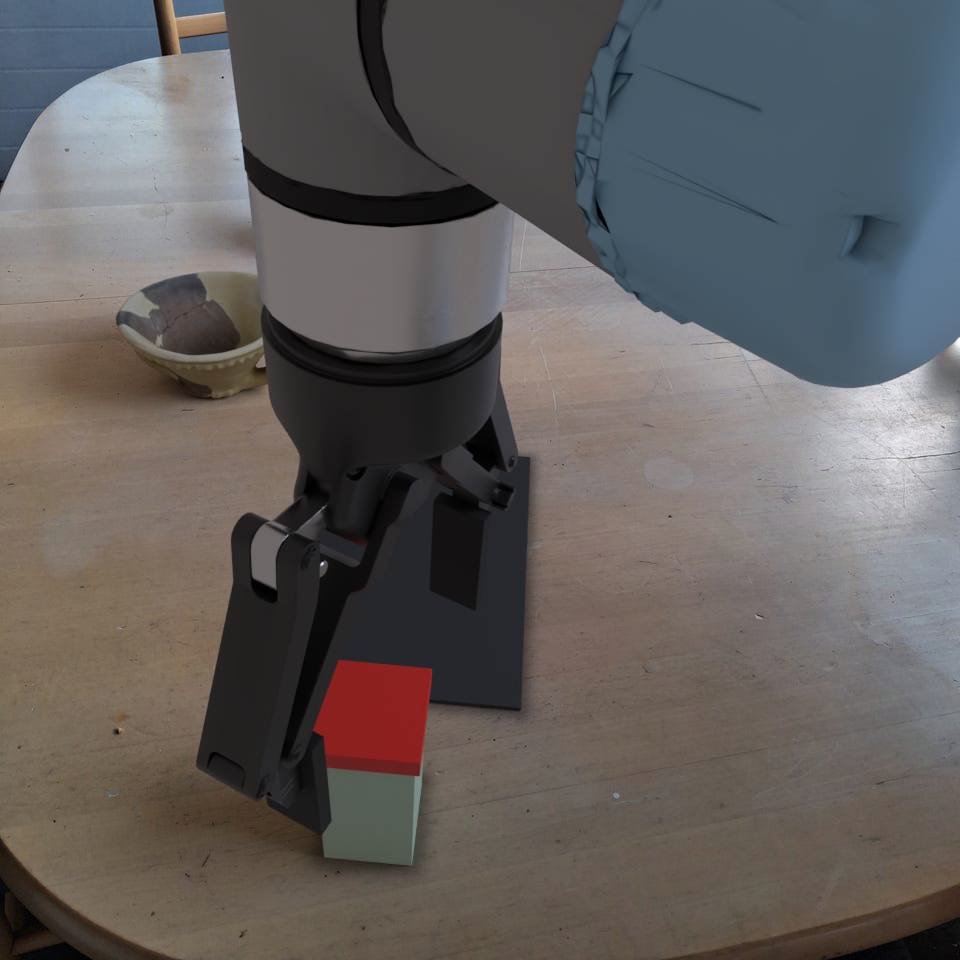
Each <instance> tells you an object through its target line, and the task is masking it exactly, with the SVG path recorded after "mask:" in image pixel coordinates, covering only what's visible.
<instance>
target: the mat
mask: <svg viewBox="0 0 960 960" xmlns="http://www.w3.org/2000/svg"><path fill="white" fill-rule="evenodd" d="M517 458H518V461H517V464H516V466H515V467H514V468H513V469H512V471H511V472H510V473H507V472H504V471H500V472H499V474H498V476H497V478H496V479H497V480H498V481H500V482H502V483H504V484H507V485H509V486H512V487H514V488H515V494H514V498H513V500H512V503H511V505H510V507H509V508H508V509H507V510H506V511H502V510H500V509H498V508H495V507H493V506H490V505H489V507H488V511H490V512H491V522H490V531H489V540H488V550H487V559H486V569H485V578H484V587H483V597H482V602H481V604H480V605H479V607H478V608H477V609H476V611H474V610H471V609H469V608H467V607H465V606H463V605H460V604H458V603H456V602H454V601H452V600H449V599H447V598H445V597H443V596H441V595H438V594H436V593H434V592H432V591H429V588H430V565H431V542H432V520H433V501H434V499H435V498H436V497H437V496H438V495H439V493H440V492H444V493H446V494H449V495H451V496H452V493H453V490H451V489H449V488H446V487H444V486H443V485H441V484H440V483H438V482H436V481H435V480H434V482H433V484H432V486H431V488H430V489H429V491H428V498H427V499H426V500H425V501H424V503H423V504H422V505H421V506H420V507H419V508H418V509H417V510H416V511H415V512H414V514H413V516H412V518H411V520H410V521H408V522H407V523H406V524H404V525H403V526H402V528H401V530H400V533H399V535H398V538H397V541H396V544H395V546H394V549H393V552H392V555H391V557H390V560H389V563H388V565H387V568H386V571H385V574H384V576H383V579H382V581H381V583H380V585H378V586H377V587H376V588H372V589H368V590H366V591H365V592H364V593H363V595H362V598H361V601H360V603H359V606H358V609H357V612H356V614H355V617H354V620H353V622H352V625H351V628H350V631H349V633H348V636H347V639H346V642H345V644H344V647H343V650H342V653H341V655H340V658H339V660H344V661H355V662H365V663H376V664H386V665H397V666H407V667H418V668H429V669H432V683H431V692H430V700H429V703H435V704H446V705H457V706H466V707H478V708H485V709H486V708H487V709H488V708H489V709H496V710H497V709H498V710H508V711H519V712H520V711H521V710H522V697H523V695H522V694H523V693H522V691H523V666H524V665H523V664H524V641H525V640H524V639H525V615H526V613H525V612H526V611H525V610H526V609H525V608H526V588H527V587H526V585H527V583H526V582H527V563H528V561H527V556H528V535H529V534H528V532H529V506H530V505H529V504H530V481H531V478H530V477H531V456H523V455H518V457H517ZM319 542H320V543H321V544H322V545H323V546H326V547H328V548H330V549H332V550H334V551H337V552H339V553H341V554H343V555H346V556H348V557H350V558H352V559H354V560H357V561H359V562H361V560H362V557H363V554H364V551H365V549H366V548H364V547H361V546H358V545H356V544H354V543H352V542H349V541H347V540H345V539H343V538H340V537H338V536H336V535H334V534H332V533H330V532H329V531H327V530H324V531H323V533H322V534H321V536H320V538H319Z"/></svg>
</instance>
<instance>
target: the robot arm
mask: <svg viewBox="0 0 960 960" xmlns="http://www.w3.org/2000/svg"><path fill="white" fill-rule="evenodd" d="M222 1H223V9H224V17H225V24H226V25H225V26H226V31H227V32H226V33H227V40H228V47H229V55H230V64H231V71H232V78H233V85H234V86H233V87H234V95H235V102H236V110H237V119H238V125H239V131H240V135H241V139H240V143H241V147H242V156H243V157H242V159H243V166H244V167H243V168H244V171H245V172H246V180H247V189H248V191H247V192H248V198H249V209H250V217H251V225H252V234H253V235H252V237H253V244H254V255H255V264H256V274H257V275H258V284H259V292H260V299H261V300H262V302H263V303H264V305H263V307H262V312H261V330H262V338H263V347H264V355H263V356H264V363H265V366H266V373H267V382H268V384H267V389H268V397H269V401H270V405H271V408H272V410H273V413H274V414H275V416H276V418H277V420H278V421H279V423H280V425H281V426H282V428H283V429H284V431H285V433H286V434H287V435H288V437H289V438H290V440H291V442H292V443H293V445H294V447H295V449H296V451H297V453H298V455H299V461H298V462H299V463H298V470H297V475H296V479H295V483H294V487H293V496H292V497H293V502H292V503H291V504H290V505H289V506H287V507H286V508H285V509H284V510H283V511H281V512H280V513H279V514H278V515H277V516H275V518H273V519H271V520H270V519H268V518H265V517H264V516H261V515H259V514H256V513H254V512H253V511H251V512H246V513H244V514H242V515H241V516H240V517H239V518H238V520H237V521H236V523H235V525H234V527H233V529H232V532H231V534H230V553H231V565H232V566H231V568H232V585H231V590H230V595H229V598H228V599H229V600H228V603H227V604H228V605H227V610H226V614H225V620H224V624H223V629H222V634H221V638H220V643H219V648H218V653H217V657H216V663H215V668H214V671H213V672H214V673H213V677H212V682H211V687H210V692H209V697H208V701H207V705H206V712H205V716H204V720H203V726H202V731H201V735H200V741H199V746H198V749H197V750H198V751H197V754H196V758H195V759H196V760H195V767H196V769H197V770H198V771H200V772H202V773H204V774H206V775H207V776H209V777H211V778H213V779H214V780H216V781H218V782H220V783H222V784H223V785H224V786H227V787H229V788H230V789H232V790H234V791H235V792H237V793H239V794H241V795H242V796H244V797H246V798H248V799H249V800H251V801H252V802H255V803H256V802H257V803H259V802H260V801H261V800H263V799H264V798H265V799H266V805H267V807H269V808H271V809H272V810H274V811H276V812H278V813H280V814H281V815H283V816H284V817H286V818H288V819H290V820H292V821H293V822H296V823H297V824H298V825H301V826H302V827H304V828H306V829H308V830H310V831H311V832H313V833H315V834H316V835H317V836H320V837H322V835H323V833H324V832H325V830H326V829H327V827H328V826H329V824H330V823H331V821H332V818H331V807H330V797H329V786H328V775H327V765H326V754H325V744H324V736H322V735H320V734H318V733H316V732H314V731H313V729H314V726H315V724H316V721H317V718H318V716H319V713H320V710H321V707H322V705H323V702H324V699H325V696H326V694H327V691H328V688H329V685H330V683H331V680H332V677H333V674H334V672H335V669H336V666H337V664H338V661H339V658H340V655H341V653H342V650H343V647H344V644H345V642H346V639H347V636H348V633H349V631H350V628H351V625H352V622H353V620H354V617H355V614H356V612H357V609H358V606H359V603H360V601H361V598H362V595H363V593H364V592H365V591H366V590H368V589H372V588H376V587H377V586H378V585H380V583H381V581H382V579H383V576H384V574H385V571H386V568H387V565H388V563H389V560H390V557H391V555H392V552H393V549H394V546H395V544H396V541H397V538H398V535H399V533H400V530H401V528H402V526H403V525H404V524H406V523H407V522H408V521H410V520H411V518H412V516H413V514H414V512H415V511H416V510H417V509H418V508H419V507H420V506H421V505H422V504H423V503H424V501H425V500H426V499H427V498H428V491H429V489H430V488H431V486H432V484H433V482H434V480H435V481H436V482H438V483H440V484H441V485H443V486H444V487H446V488H449V489H451V490H453V493H452V496H451V495H449V494H446V493H444V492H440V493H439V495H438V496H437V497H436V498H435V499H434V501H433V520H432V542H431V565H430V588H429V591H432V592H434V593H436V594H438V595H441V596H443V597H445V598H447V599H449V600H452V601H454V602H456V603H458V604H460V605H463V606H465V607H467V608H469V609H471V610H474V611H476V609H477V608H478V607H479V605H480V604H481V602H482V597H483V587H484V578H485V569H486V559H487V550H488V540H489V531H490V522H491V512H490V511H488V507H489V505H490V506H493V507H495V508H498V509H500V510H502V511H506V510H507V509H508V508H509V507H510V505H511V503H512V500H513V498H514V494H515V488H514V487H512V486H509V485H507V484H504V483H502V482H500V481H498V480H497V479H496V478H497V476H498V474H499V472H500V471H504V472H507V473H510V472H511V471H512V469H513V468H514V467H515V466H516V464H517V461H518V458H517V457H518V456H519V450H518V445H517V441H516V437H515V433H514V429H513V425H512V421H511V418H510V413H509V409H508V406H507V402H506V398H505V393H504V389H503V386H502V385H503V384H502V382H501V365H502V340H503V339H502V338H503V337H502V336H503V327H504V319H503V312H502V310H503V309H504V306H505V303H506V301H507V298H508V295H509V285H510V274H511V273H510V272H511V262H512V250H513V237H514V229H515V228H514V227H515V217H516V214H517V215H518V216H519V217H521V218H523V219H524V220H526V221H527V222H528V223H530V224H531V225H533V226H535V227H536V228H538V229H539V230H540V231H542V232H543V233H545V234H547V235H548V236H550V237H551V238H553V239H554V240H556V241H557V242H559V243H560V244H562V245H563V246H564V247H566V248H567V249H569V250H571V251H572V252H574V253H575V254H576V255H579V256H580V258H583V259H584V260H586V261H587V262H589V263H590V264H592V265H594V267H596V268H598V270H599V269H600V270H601V271H603V272H604V273H605V274H607V275H608V276H610V277H611V278H613V280H614V282H615V283H616V284H617V285H618V286H619V287H620V288H621V289H622V290H624V291H625V292H626V293H628V294H631V295H634V296H635V298H636V299H637V301H639V302H640V303H641V305H643V306H644V307H646V308H647V309H649V310H651V311H652V312H653V313H663V314H664V315H665V316H667V317H668V318H670V319H672V320H674V321H675V322H677V323H678V324H680V325H686V324H689V323H690V324H691V323H694V324H696V325H697V326H699V327H701V328H703V329H704V330H707V331H709V332H710V333H712V334H714V335H716V336H719V337H720V338H722V339H724V340H726V341H727V342H730V343H731V344H734V345H735V346H737V347H739V348H741V349H743V350H744V351H747V352H749V353H751V354H753V356H756V357H759V358H760V359H762V360H764V361H766V362H768V363H770V364H772V365H773V366H776V367H778V368H779V369H781V370H783V371H785V372H787V373H789V374H791V375H792V376H795V377H796V378H798V379H800V380H803V381H805V382H807V383H810V384H812V385H813V384H814V385H817V386H822V387H828V388H837V389H859V388H866V387H873V386H877V385H882V384H885V383H888V382H890V381H894V380H896V379H898V378H900V377H902V376H905V375H907V374H909V373H911V372H913V371H916V370H917V369H919V368H921V367H922V366H924V365H926V364H927V363H929V362H931V361H932V360H934V359H935V358H937V357H938V356H939V355H940V354H943V353H944V352H945V351H946V350H947V349H948V348H949V347H951V346H952V345H954V344H955V343H956V342H957V340H959V338H960V0H222ZM324 530H327V531H329V532H330V533H332V534H334V535H336V536H338V537H340V538H343V539H345V540H347V541H349V542H352V543H354V544H356V545H358V546H361V547H364V548H366V549H365V551H364V554H363V557H362V560H361V562H359V561H357V560H354V559H352V558H350V557H348V556H346V555H343V554H341V553H339V552H337V551H334V550H332V549H330V548H328V547H326V546H323V545H322V544H321V543H320V542H319V538H320V536H321V534H322V533H323V531H324Z"/></svg>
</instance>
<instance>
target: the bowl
mask: <svg viewBox="0 0 960 960" xmlns="http://www.w3.org/2000/svg"><path fill="white" fill-rule="evenodd" d="M263 305H264V303H263V302H262V300H261V299H260V292H259V284H258V275H257V273H253V272H248V271H247V272H245V271H239V270H238V271H235V270H234V271H233V270H221V271H219V270H217V271H213V270H211V271H199V272H193V273H186V274H182V275H177V276H173V277H170V278H166V279H163V280H160V281H157V282H153V283H152V284H149V285H147V286H145V287H143V288H141V289H139V290H138V291H136V292H135V293H134V294H132V295H131V296H130V297H128V299H126V300H125V302H124V303H123V304H122V305H121V307H120V309H119V310H118V312H117V313H116V316H115V324H116V327H117V328H118V330H119V333H120V334H121V336H122V337H123V339H125V340H126V341H127V342H128V344H129V346H130V347H132V348H133V350H134V352H135V353H136V355H137V356H138V358H139V359H140V360H141V361H143V362H144V363H145V364H146V365H148V367H150V368H152V369H153V370H154V371H157V372H158V373H160V374H162V375H164V376H167V377H170V378H172V379H174V380H176V382H177V384H178V386H179V387H180V388H181V389H182V390H183V391H184V392H185V393H187V394H188V395H192V396H194V397H198V398H199V397H200V398H212V399H221V398H225V397H226V398H227V397H231V396H233V395H236V394H237V393H239V392H241V391H243V390H249V389H253V388H254V389H255V388H259V387H264V386H268V382H267V373H266V365H265V366H261V367H257V364H258V363H259V361H260V360H261V358H263V356H264V347H263V338H262V330H261V312H262V307H263Z"/></svg>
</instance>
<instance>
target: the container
mask: <svg viewBox="0 0 960 960" xmlns="http://www.w3.org/2000/svg"><path fill="white" fill-rule="evenodd" d="M431 683H432V669H429V668H418V667H407V666H397V665H386V664H376V663H365V662H355V661H344V660H339V661H338V664H337V666H336V669H335V672H334V674H333V677H332V680H331V683H330V685H329V688H328V691H327V694H326V696H325V699H324V702H323V705H322V707H321V710H320V713H319V716H318V718H317V721H316V724H315V726H314V729H313V731H314V732H316V733H318V734H320V735H322V736H324V744H325V754H326V765H327V775H328V786H329V797H330V807H331V818H332V821H331V823H330V824H329V826H328V827H327V829H326V830H325V832H324V833H323V835H322V836H321V840H322V848H323V857H324V859H325V858H327V859H335V860H336V859H337V860H345V861H346V860H347V861H359V862H365V863H366V862H367V863H379V864H388V865H389V864H390V865H399V866H409V867H411V866H413V860H414V852H415V844H416V836H417V835H416V834H417V827H418V819H419V811H420V805H421V804H420V802H421V794H422V786H423V770H424V750H425V749H424V748H425V739H426V731H427V723H428V714H429V709H430V708H429V706H430V702H429V700H430V692H431Z"/></svg>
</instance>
